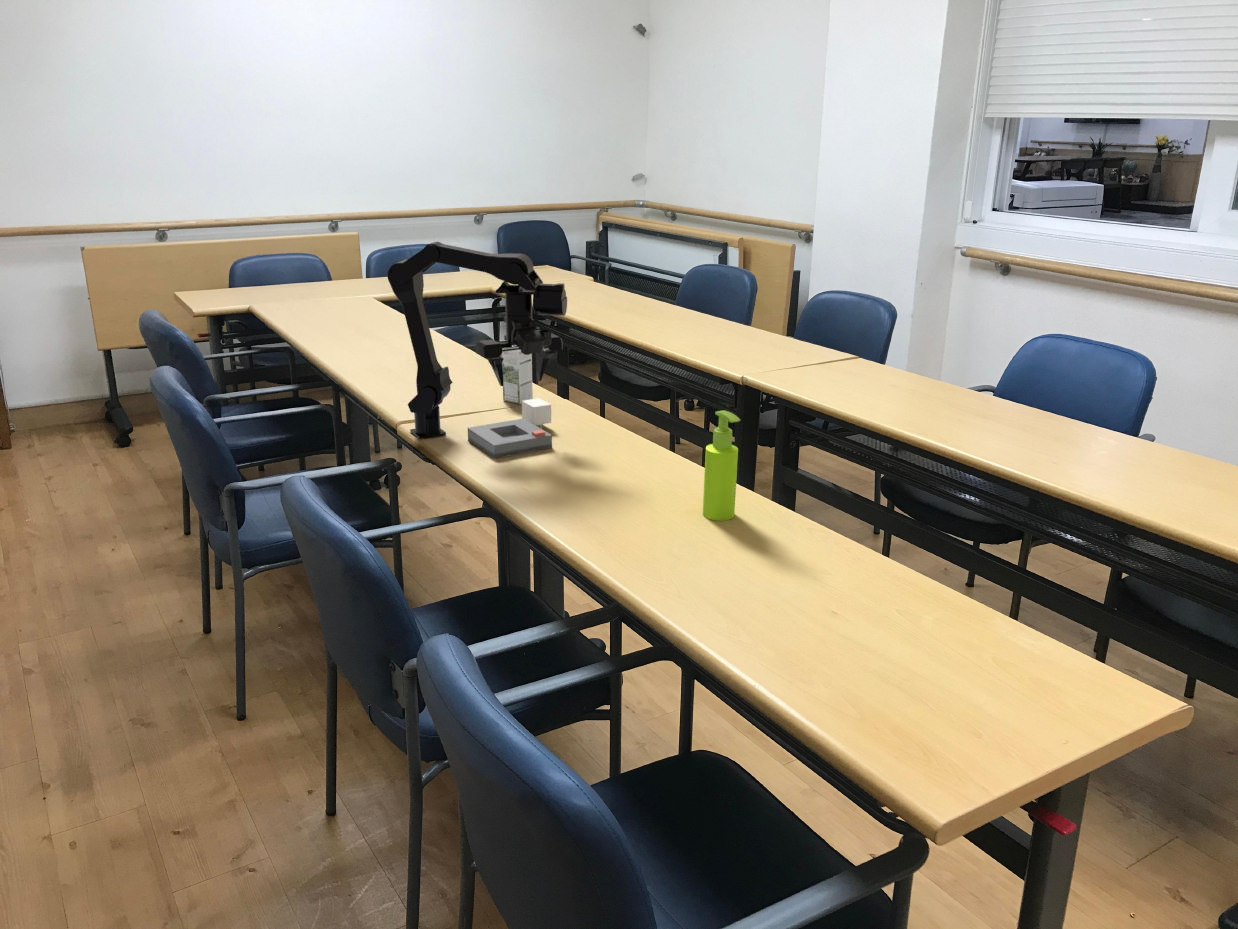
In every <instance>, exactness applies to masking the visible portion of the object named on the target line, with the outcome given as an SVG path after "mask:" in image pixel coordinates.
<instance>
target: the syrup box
mask: <svg viewBox="0 0 1238 929" xmlns="http://www.w3.org/2000/svg"><path fill="white" fill-rule="evenodd" d="M512 346H513V345H512ZM516 346H517V345H516ZM501 357H502V358H504V359H503V362H502V369H503V386H502V400H503V401H504V402H509V403H511V404H512V403H513V404H517V405H522V401H524V400H530V399H534V395H533V394H534V393H533V392H534V391H533V364H532V363H533V353H532V354H530V355H525V354H523V353H522V352H521V350H512V351H503V352H502V354H501Z"/></svg>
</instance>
